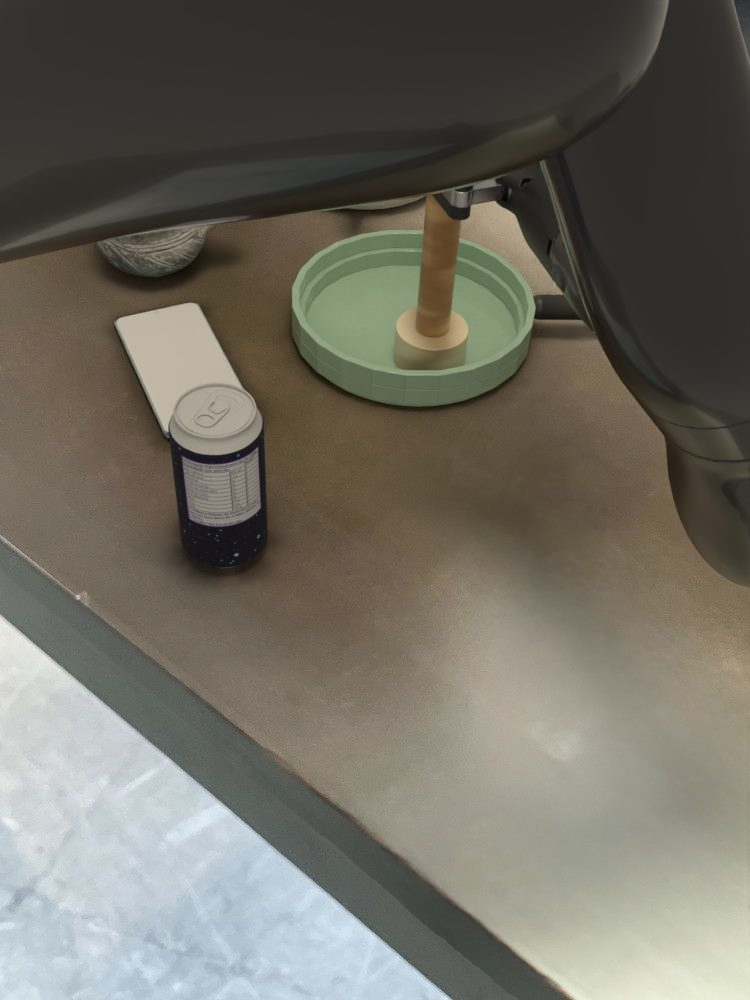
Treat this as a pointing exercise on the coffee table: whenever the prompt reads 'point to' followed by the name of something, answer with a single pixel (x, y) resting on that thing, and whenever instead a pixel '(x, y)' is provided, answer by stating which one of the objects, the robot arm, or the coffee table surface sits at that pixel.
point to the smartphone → (173, 354)
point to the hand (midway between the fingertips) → (500, 94)
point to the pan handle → (553, 308)
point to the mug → (155, 251)
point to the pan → (389, 293)
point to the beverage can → (219, 474)
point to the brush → (434, 301)
